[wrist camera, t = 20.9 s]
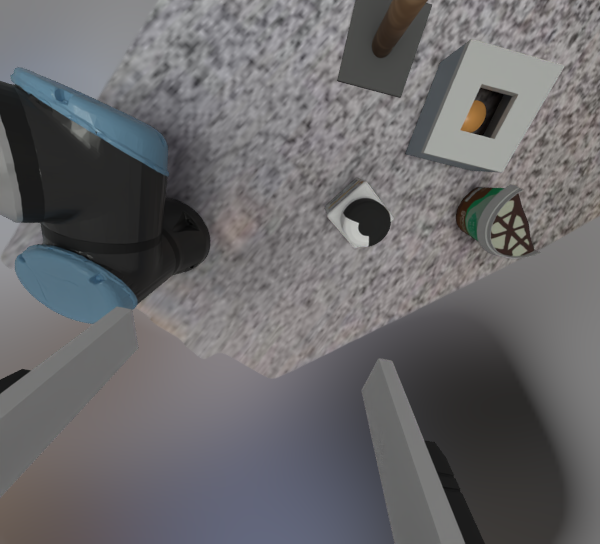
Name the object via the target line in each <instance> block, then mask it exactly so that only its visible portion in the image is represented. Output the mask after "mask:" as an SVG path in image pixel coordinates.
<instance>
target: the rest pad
mask: <svg viewBox="0 0 600 544" xmlns="http://www.w3.org/2000/svg"><path fill="white" fill-rule="evenodd" d="M391 2H392V0H356V2H355V6H354V11H353V15H352V19H351V24H350V28H349V32H348V37H347V41H346V45H345V50H344V54H343V59H342V63H341V67H340V72H339V76H338V80H337V81H339V82H343V83H347V84H350V85H354V86H358V87H362V88H366V89H369V90H373V91H377V92H381V93H384V94H388V95H392V96H396V97H399V98H400V97H401V95H402V92H403V89H404V86H405V83H406V80H407V77H408V74H409V72H410V69H411V66H412V63H413V60H414V57H415V54H416V51H417V48H418V45H419V42H420V39H421V36H422V33H423V30H424V28H425V25H426V22H427V19H428V16H429V13H430V10H431V7H432V4H428V3H425V5H424V6H423V7H422V9H421V10H420V12H419V13H418V14H417V16H416V17H415V18H414V20H413V21H412V23H411V24H410V25H409V27H408V28H407V30H406V31H405V32H404V34H403V35H402V37H401V38H400V39H399V41H398V42H397V43H396V45H395V46H394V48H393V49H392V50H391V52H390V53H389V54H388V55H387V56H386V57H384V58H378V57H376V56H375V55H374V53H373V51H372V41H373V38H374V36H375V34H376V32H377V30H378V28H379V26H380V24H381V22H382V20H383V18H384V16H385V14H386V12H387V10H388V8H389V6H390V4H391Z"/></svg>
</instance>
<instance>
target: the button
mask: <svg viewBox="0 0 600 544" xmlns="http://www.w3.org/2000/svg"><path fill="white" fill-rule="evenodd" d="M485 116H486V108H485V105H484V104H483V103H482V102H481V101H477V100H475V101H474V102H473V104H472V106H471V108H470V110H469V113H468V115H467V117H466V119H465V121H464V123H463V125H462V128H461V131H465V132H469V133H472V132H474V131H475V130H477V129H478V128H479V127H480V126H481V125H482V123H483V121H484V119H485Z"/></svg>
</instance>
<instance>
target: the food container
mask: <svg viewBox="0 0 600 544" xmlns="http://www.w3.org/2000/svg"><path fill="white" fill-rule="evenodd" d="M523 190H524V189H520V188H519V187H517V186H514V185H511V184H510V185H509V186H507V187H506V188H480V187H477V188H475V189H474V190H472V191H471V192H470V193H469V194H468V195H467V196H466V197H465V198H464V199H463V200H462V202H461V204H460V205H459V207H458V210H457V214H456V222H457V225H458V227H459V228H460V229H461V230H462V231H463V232H465V233H466V234H468V235H470V236H471V237H473V238H474V239H476V240H477V241H479V243H480V245H481V247H482V248H483V249H484V250H485V251H487V252H488V253H490V254H492V255H496V256H500V257H504V258H526V257H530V256H534V255H537V254H539V253H540V252H538V251H536V250H534V246H533V244H532V241H531V238H530V231H529V224H528V221H527V218H526V216H525V213H524V211H523V208H522V205H521V201H520V198H519V194H518V193H519V192H521V191H523Z"/></svg>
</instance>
